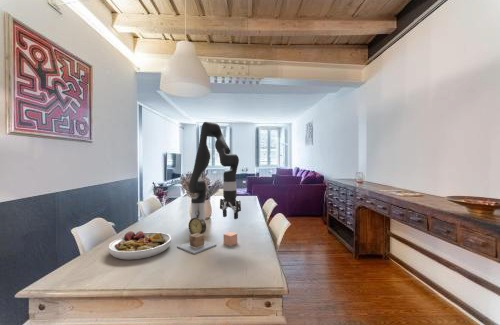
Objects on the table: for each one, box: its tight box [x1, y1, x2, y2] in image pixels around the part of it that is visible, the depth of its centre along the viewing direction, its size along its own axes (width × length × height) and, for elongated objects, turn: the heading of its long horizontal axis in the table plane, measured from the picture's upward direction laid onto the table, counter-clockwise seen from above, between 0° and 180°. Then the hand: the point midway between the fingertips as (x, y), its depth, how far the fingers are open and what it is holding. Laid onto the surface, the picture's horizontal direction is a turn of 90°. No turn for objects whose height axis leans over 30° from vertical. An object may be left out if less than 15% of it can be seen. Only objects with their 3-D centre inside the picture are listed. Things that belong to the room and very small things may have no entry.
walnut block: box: [189, 233, 205, 248], centre depth 131 cm, size 6×6×6 cm
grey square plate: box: [176, 239, 217, 255], centre depth 131 cm, size 15×15×1 cm
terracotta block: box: [223, 231, 238, 247], centre depth 136 cm, size 6×6×6 cm
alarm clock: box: [188, 210, 207, 235], centre depth 148 cm, size 11×5×16 cm, turn 62°
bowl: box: [108, 230, 172, 261], centre depth 128 cm, size 30×30×8 cm
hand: (230, 217), depth 136 cm, fingers open, 8 cm apart
